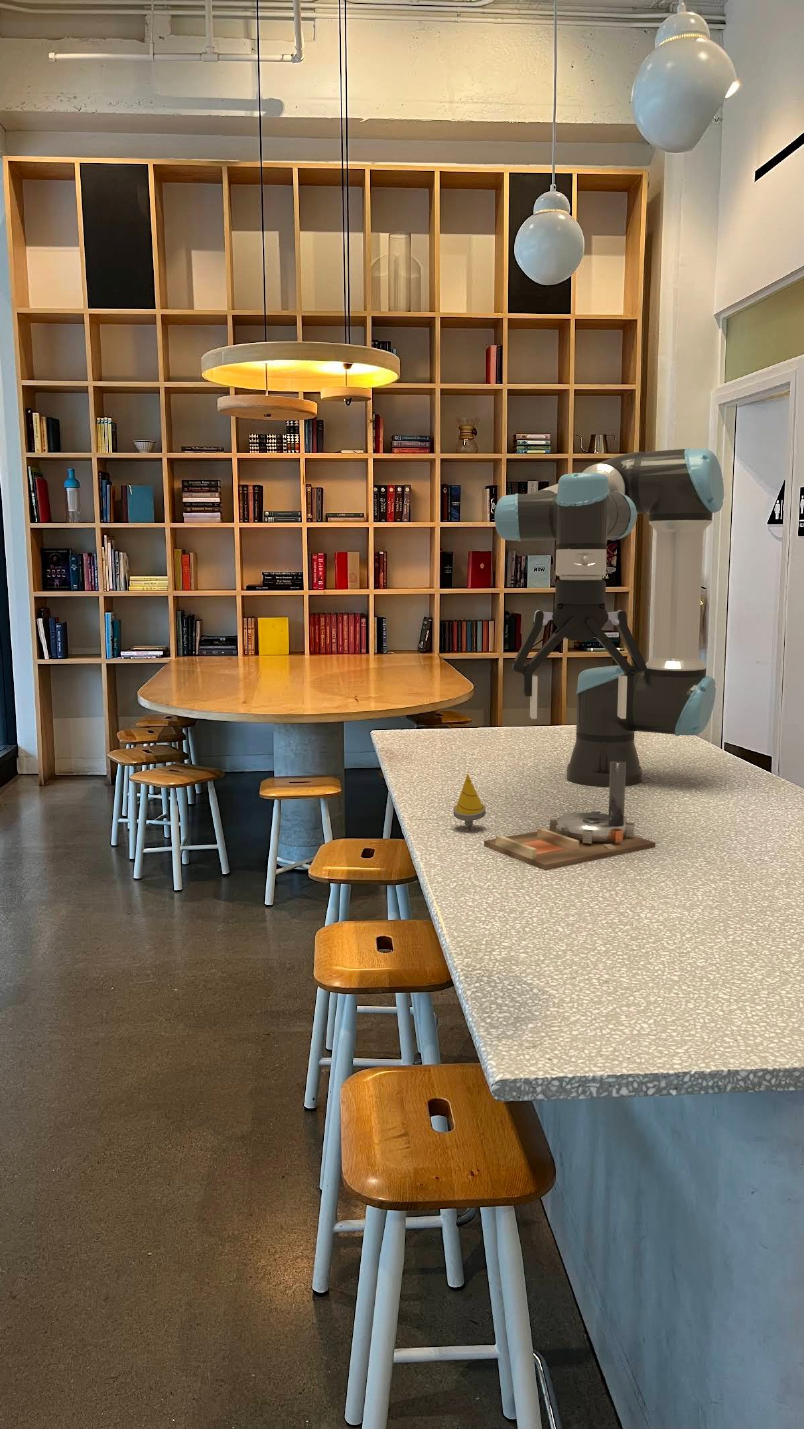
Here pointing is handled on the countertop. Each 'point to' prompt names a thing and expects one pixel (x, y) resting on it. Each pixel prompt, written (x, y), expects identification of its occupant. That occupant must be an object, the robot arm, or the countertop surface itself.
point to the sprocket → (599, 815)
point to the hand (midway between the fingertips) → (577, 717)
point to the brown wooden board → (561, 848)
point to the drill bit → (469, 804)
